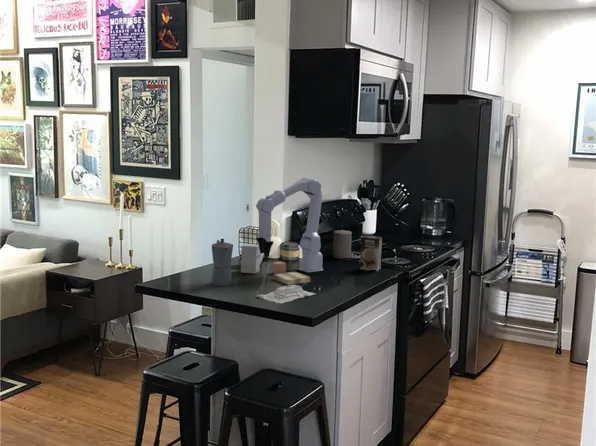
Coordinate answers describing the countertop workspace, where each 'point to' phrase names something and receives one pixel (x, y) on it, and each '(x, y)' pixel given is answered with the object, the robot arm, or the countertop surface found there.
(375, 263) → the coffee box
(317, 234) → the robot arm
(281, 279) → the base
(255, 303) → the countertop surface
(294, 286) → the terrain model
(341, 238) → the pillar candle
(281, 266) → the block
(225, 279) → the moka pot
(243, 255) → the supplement box
